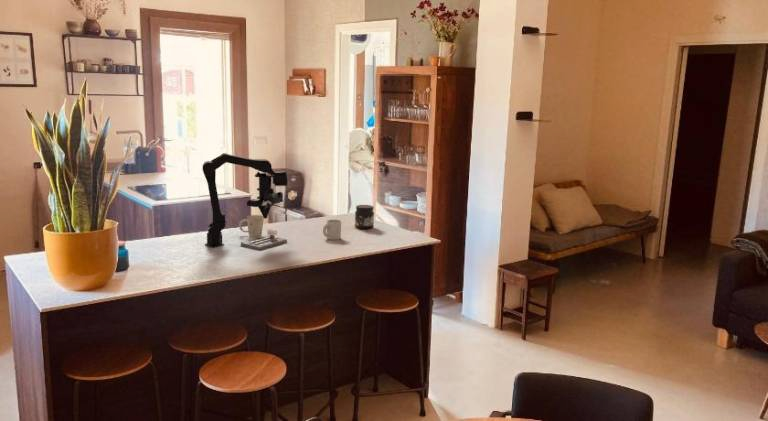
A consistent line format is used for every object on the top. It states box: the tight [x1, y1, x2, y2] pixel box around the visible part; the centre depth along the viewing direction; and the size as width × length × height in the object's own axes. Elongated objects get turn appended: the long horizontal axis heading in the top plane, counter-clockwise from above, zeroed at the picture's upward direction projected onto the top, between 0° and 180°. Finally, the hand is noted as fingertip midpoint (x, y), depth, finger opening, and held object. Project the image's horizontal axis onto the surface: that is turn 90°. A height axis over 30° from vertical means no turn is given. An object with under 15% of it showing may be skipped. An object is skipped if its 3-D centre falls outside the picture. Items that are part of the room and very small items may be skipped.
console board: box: [240, 234, 288, 251], centre depth 291 cm, size 19×12×2 cm, turn 148°
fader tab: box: [267, 228, 278, 239], centre depth 295 cm, size 2×4×4 cm, turn 58°
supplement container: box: [354, 204, 375, 231], centre depth 332 cm, size 10×10×12 cm
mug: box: [238, 214, 265, 239], centre depth 304 cm, size 8×13×10 cm, turn 89°
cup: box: [322, 219, 342, 241], centre depth 306 cm, size 7×10×9 cm
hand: (265, 218), depth 289 cm, fingers closed
